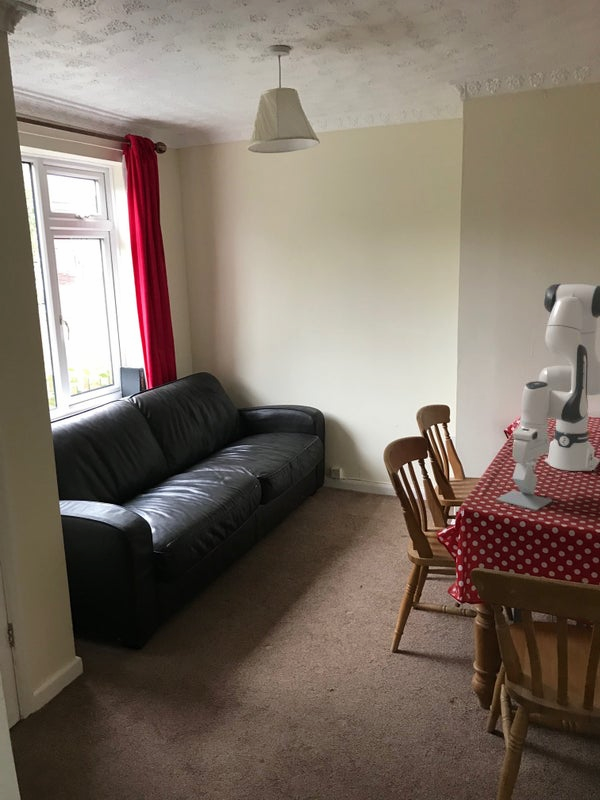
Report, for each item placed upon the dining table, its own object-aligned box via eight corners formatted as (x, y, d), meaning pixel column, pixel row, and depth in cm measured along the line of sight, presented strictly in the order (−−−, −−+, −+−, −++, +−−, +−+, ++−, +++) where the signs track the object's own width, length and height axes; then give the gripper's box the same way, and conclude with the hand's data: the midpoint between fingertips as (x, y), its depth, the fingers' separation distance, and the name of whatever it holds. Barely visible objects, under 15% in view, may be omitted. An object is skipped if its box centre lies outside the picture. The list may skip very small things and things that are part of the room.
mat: (512, 491, 230) (512, 490, 230) (552, 501, 220) (552, 499, 220) (495, 500, 221) (495, 499, 221) (535, 510, 212) (536, 509, 212)
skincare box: (525, 477, 229) (516, 461, 220) (538, 479, 226) (529, 464, 218) (520, 493, 227) (511, 478, 218) (533, 495, 224) (524, 480, 216)
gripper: (537, 424, 232) (535, 463, 234) (510, 433, 217) (507, 474, 220) (555, 427, 228) (552, 466, 230) (528, 436, 213) (525, 478, 215)
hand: (530, 470), depth 225 cm, fingers closed
